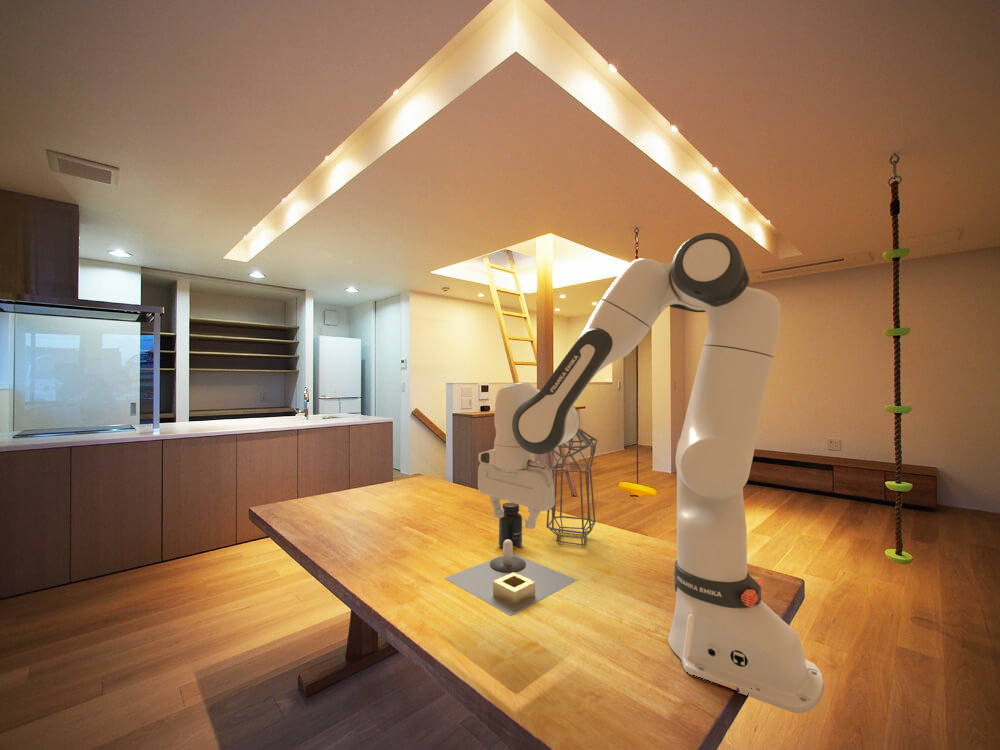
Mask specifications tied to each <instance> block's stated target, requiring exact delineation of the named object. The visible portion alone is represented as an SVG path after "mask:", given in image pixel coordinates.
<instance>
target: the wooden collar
mask: <svg viewBox="0 0 1000 750" xmlns="http://www.w3.org/2000/svg"><path fill="white" fill-rule="evenodd" d="M493 596H495V597H497V598H499V599H500V600H502V601H504V602H506V603H508V604H510V605H511V606H513V607H515V606H517V605H519V604H521V603H523V602H525V601H527V600H529V599H531V598H533V597H535V582H534V581H532V580H530V579H528V578H526V577H523V576H521V575H519V574H517V573H515V572H513V573H511V574H509V575H506V576H504V577H502V578H499V579H497V580H495V581H493Z"/></svg>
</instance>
